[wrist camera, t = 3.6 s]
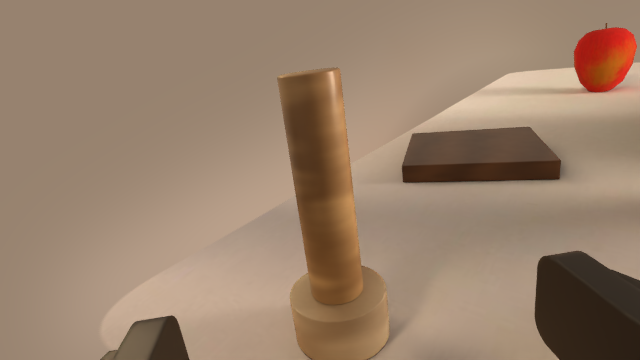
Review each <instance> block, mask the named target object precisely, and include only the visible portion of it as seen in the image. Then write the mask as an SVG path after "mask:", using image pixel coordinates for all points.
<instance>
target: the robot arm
mask: <svg viewBox="0 0 640 360" xmlns="http://www.w3.org/2000/svg"><path fill="white" fill-rule="evenodd" d="M535 321H536V325H537V329H538V331H539V333H540V336H541V337H542V339H543V341H544V342H545V344H546V345H547V346H548V347H549V348H550V349H551V350H552V352H553V353H554V354H555V355H556V356H557V357H558V358H559V359H560V360H640V281H639V280H637V279H634V278H632V277H629V276H627V275H624V274H621V273H619V272H616V271H614V270H610V269H608V268H607V267H605V266H604V265H602V264H601V263H599V262H598V261H596V260H595V259H593V258H592V257H590V256H589V255H587V254H586V253H584V252H581V251H573V252H567V253H561V254H555V255H549V256H543V257H542V258H541V259H540V260H539V262H538V267H537V284H536V301H535ZM100 360H189V357H188V353H187V350H186V347H185V343H184V340H183V337H182V333H181V330H180V327H179V324H178V321H177V319H176V318H175V317H174V316H166V317H160V318H154V319H148V320H142V321H136V322H135V323H134V324H133V325H132V326H131V328H130V329H129V331H128V333H127V335H126V336H125V338H124V340H123V342H122V343H121V345H120V347H119V349H118V350H114V351H109V352H108V353H107V354H106V355H105V356H104V357H102V359H100Z"/></svg>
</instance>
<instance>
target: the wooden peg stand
mask: <svg viewBox="0 0 640 360" xmlns="http://www.w3.org/2000/svg"><path fill="white" fill-rule="evenodd" d="M277 80H278V86H279V92H280V99H281V105H282V111H283V118H284V124H285V130H286V136H287V143H288V149H289V155H290V161H291V167H292V174H293V180H294V186H295V192H296V199H297V205H298V211H299V218H300V224H301V230H302V236H303V243H304V249H305V255H306V262H307V268H308V273H307V274H305V275H304V276H302V277H301V278H300V279H299V280H298V281H297V282H296V283H295V284H294V286H293V287H292V289H291V293H290V303H291V308H292V314H293V319H294V325H295V330H296V336H297V341H298V344H299V346H300V348H301V350H302V351H303V352H304V353H305V354H306V355H307V356H308V357H310V358H311V359H313V360H367V359H369V358H371V357H372V356H374V355H375V354H377V353H378V352H379V351H380V350H381V349H382V348H383V347H384V345H385V344H386V342H387V340H388V337H389V332H390V326H389V315H388V303H387V292H386V284H385V282H384V280H383V278H382V277H381V276H380V275H379V274H378V273H377V272H375V271H374V270H372V269H370V268H367V267H365V266H361V259H360V250H359V240H358V231H357V222H356V213H355V203H354V194H353V185H352V176H351V166H350V157H349V148H348V139H347V129H346V121H345V111H344V103H343V93H342V84H341V74H340V69H339V68H325V69H316V70H308V71H301V72H295V73H289V74H283V75H280V76H278V77H277Z"/></svg>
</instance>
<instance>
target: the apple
mask: <svg viewBox="0 0 640 360" xmlns="http://www.w3.org/2000/svg"><path fill="white" fill-rule="evenodd" d="M636 48H637V45H636V41H635V38H634V35H633V34H632V33H631V32H629V31H628V30H627V29H624V28H608V29H607V23H606V29H602V30H595V31H592V32H589V33H587V34H586V35H585V36H584V37H583V38H581V40H579V42H578V44H577V46H576V49H575V51H574V67H575V70H576V73H577V75H578V78H579V81H580V83H581V84H582V85H583V86H584V87H585V88H586V89H587V90H588V91H591V92H605V91H608V90H611V89H612V88H614V87H615V86H616V85H618V84H619V83H620V82H622V81H623V79H624V78H625V76H626V74H627V72H628V71H629V69H630V67H631V66H632V64H633V60H634V56H635V52H636Z"/></svg>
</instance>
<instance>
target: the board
mask: <svg viewBox="0 0 640 360" xmlns="http://www.w3.org/2000/svg"><path fill="white" fill-rule="evenodd" d="M560 165H561V160H560V159H559V158H558V157H557V156H556V155H555V154H554V153H553V152H552V151H551V149H550V148H549V147H548V146H547V145H546V144H545V143H544V142H543V141H542V140H541V139H540V138H539V137H538V135H537V134H536V133H535V132H534V131H533V130H532V129H531V128H530V127H516V128H499V129H482V130H466V131H449V132H432V133H415V134H412V136H411V140H410V143H409V146H408V149H407V152H406V155H405V159H404V162H403V165H402V172H403V182H437V181H485V180H534V179H559V178H560Z"/></svg>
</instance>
